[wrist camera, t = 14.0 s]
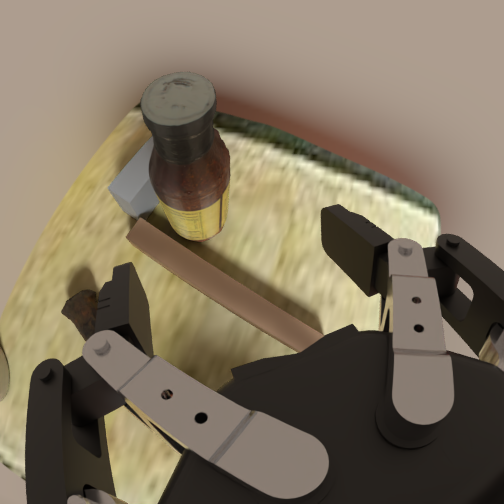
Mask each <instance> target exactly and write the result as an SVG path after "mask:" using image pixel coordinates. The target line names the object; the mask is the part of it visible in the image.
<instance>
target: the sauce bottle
mask: <svg viewBox="0 0 504 504" xmlns="http://www.w3.org/2000/svg"><path fill="white" fill-rule="evenodd" d="M141 110H142V114H143V119H144V122H145V124H146V126H147V127H148V129H149V130H150V131H151V133H152V135H153V143H154V146H153V149H152V153H151V157H150V161H149V178H150V182H151V185H152V187H153V189H154V191H155V193H156V195H157V197H158V199H159V201H160V204H161V206H162V208H163V210H164V212H165V214H166V216H167V218H168V220H169V222H170V224H171V226H172V228H173V229H174V230H175V231H176V232H177V233H178V234H179V235H180V236H181V237H183V238H185V239H188V240H191V241H197V242H203V241H206V240H209V239H210V238H212V237H214V236H215V235H216V234H218V233H219V232H220V231H221V230H222V228H223V226H224V223H225V221H226V218H227V213H228V200H229V187H230V156H229V150H228V149H227V148H226V146H225V143H224V142H223V140H222V139H221V138H220V135H219V132H218V130H216V129H214V128H213V118H214V114H215V112H216V94H215V89H214V87H213V85H212V83H211V82H210V81H209V80H208V79H206V78H205V77H203V76H202V75H199V74H196V73H191V72H178V73H173V74H169V75H165V76H162V77H161V78H159V79H156V80H155V81H153V82H152V83H151V84H150V85H149V86H148V87H147V88H146V90H145V92H144V94H143V96H142V98H141Z"/></svg>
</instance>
